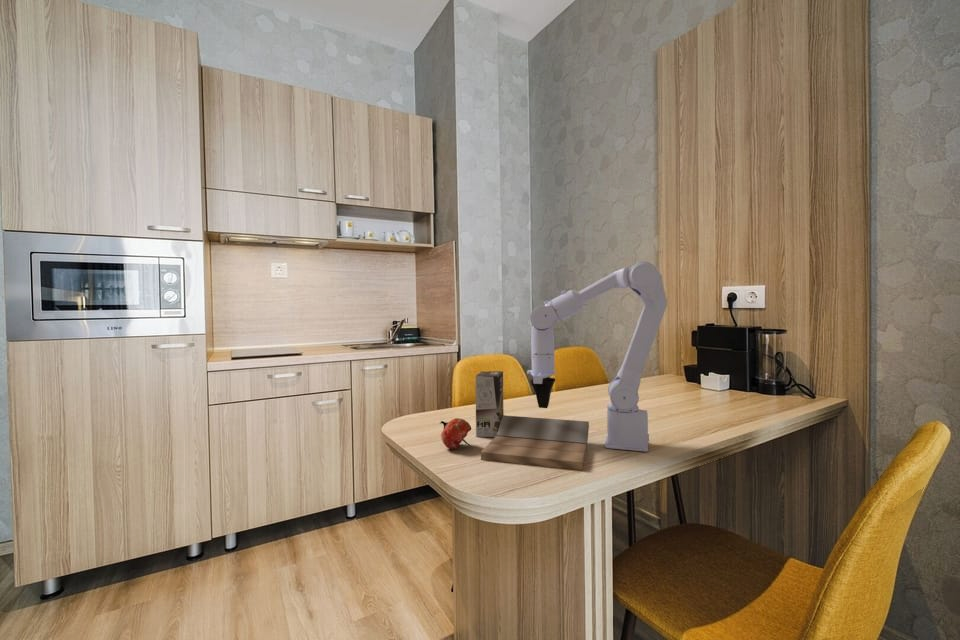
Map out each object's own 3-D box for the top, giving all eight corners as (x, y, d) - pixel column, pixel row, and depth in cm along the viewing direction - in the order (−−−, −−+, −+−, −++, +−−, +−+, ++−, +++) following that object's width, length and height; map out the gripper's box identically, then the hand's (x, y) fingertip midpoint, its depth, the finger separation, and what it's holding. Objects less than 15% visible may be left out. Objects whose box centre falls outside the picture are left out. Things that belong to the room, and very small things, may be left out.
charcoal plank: (588, 425, 105) (588, 421, 105) (587, 447, 100) (586, 443, 99) (503, 419, 113) (502, 415, 112) (497, 439, 107) (496, 435, 106)
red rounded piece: (471, 451, 106) (441, 425, 108) (486, 431, 104) (456, 405, 106) (458, 465, 99) (427, 437, 102) (475, 444, 97) (442, 415, 99)
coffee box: (499, 438, 110) (498, 376, 109) (475, 437, 111) (474, 375, 110) (504, 428, 119) (503, 370, 118) (482, 427, 120) (481, 370, 119)
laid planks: (586, 451, 99) (586, 444, 99) (581, 470, 87) (581, 462, 87) (496, 442, 106) (496, 436, 106) (480, 459, 94) (480, 451, 94)
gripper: (533, 350, 115) (533, 400, 115) (520, 356, 101) (521, 413, 101) (559, 351, 112) (559, 401, 113) (550, 357, 99) (550, 415, 99)
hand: (543, 407), depth 107 cm, fingers closed
